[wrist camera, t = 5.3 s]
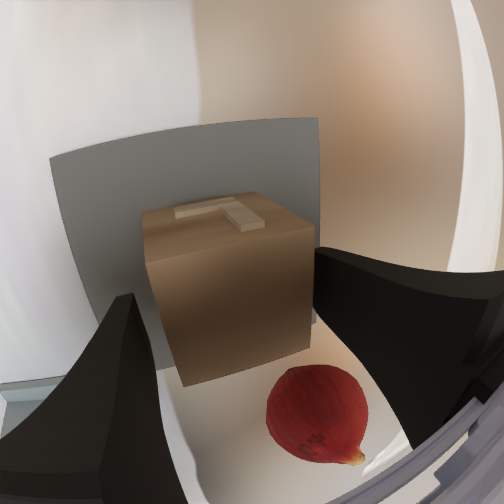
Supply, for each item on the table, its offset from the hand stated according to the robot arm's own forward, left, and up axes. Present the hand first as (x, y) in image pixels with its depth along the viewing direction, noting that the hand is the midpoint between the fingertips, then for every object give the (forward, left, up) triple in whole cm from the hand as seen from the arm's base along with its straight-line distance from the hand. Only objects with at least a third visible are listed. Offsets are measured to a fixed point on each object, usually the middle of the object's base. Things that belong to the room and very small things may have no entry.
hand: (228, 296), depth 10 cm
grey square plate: (0, 0, -3) cm, 3 cm away
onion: (-10, -4, -4) cm, 11 cm away
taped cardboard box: (0, 0, -3) cm, 3 cm away
